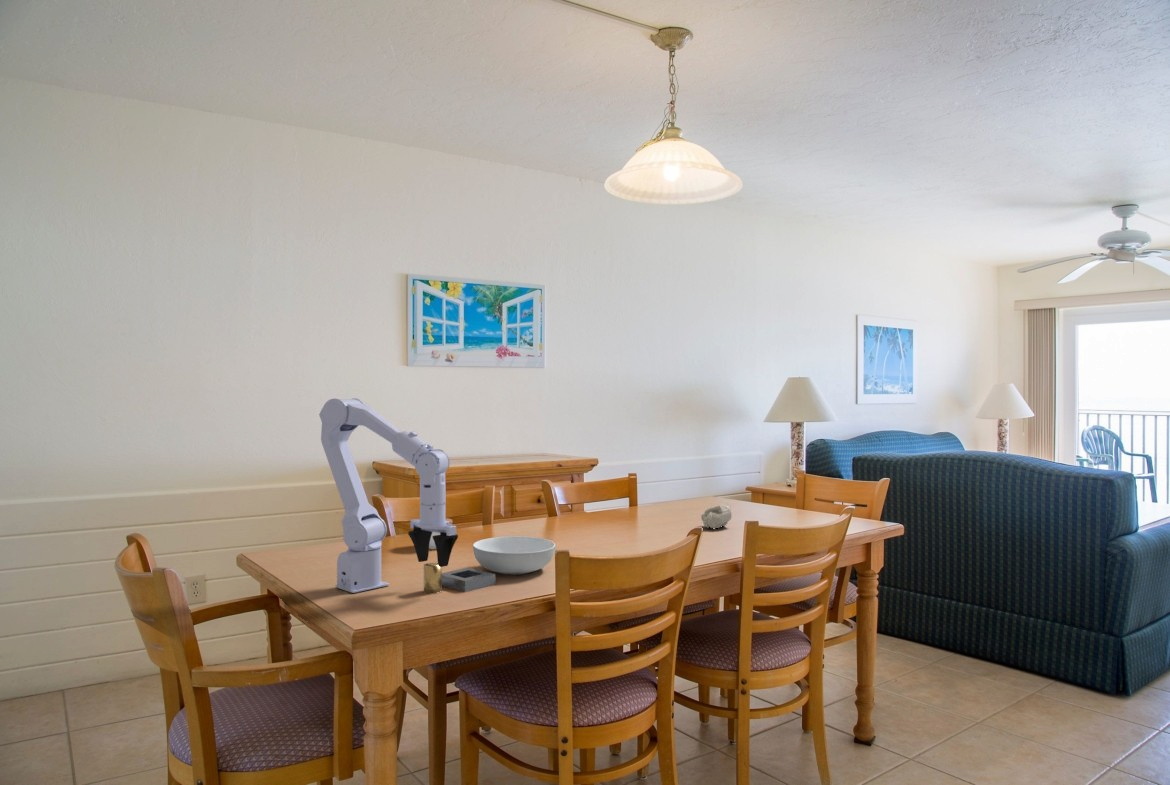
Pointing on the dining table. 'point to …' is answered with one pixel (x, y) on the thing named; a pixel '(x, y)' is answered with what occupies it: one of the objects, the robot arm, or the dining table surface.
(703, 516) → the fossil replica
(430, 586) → the brass cylinder
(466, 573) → the frame
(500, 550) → the serving bowl
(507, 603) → the dining table surface
